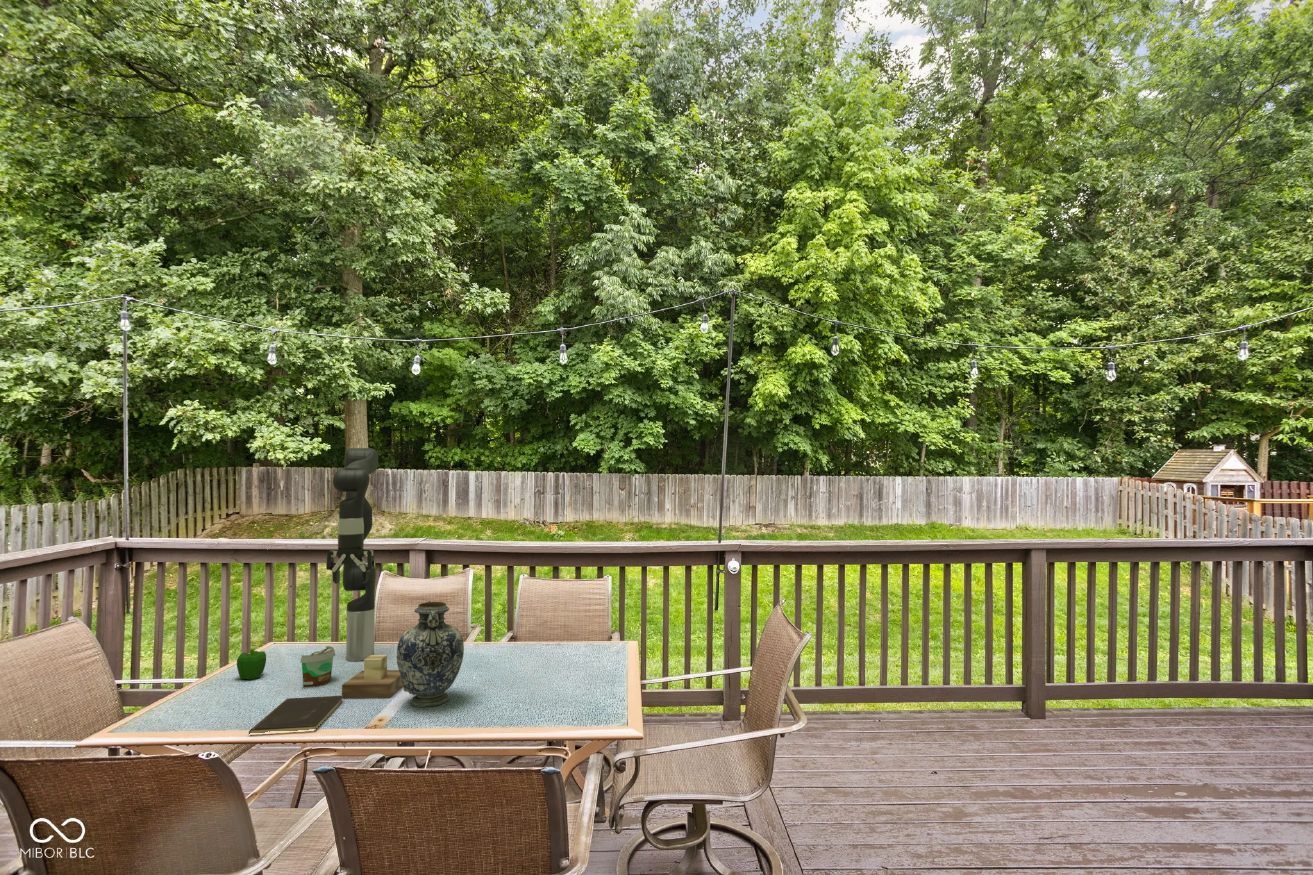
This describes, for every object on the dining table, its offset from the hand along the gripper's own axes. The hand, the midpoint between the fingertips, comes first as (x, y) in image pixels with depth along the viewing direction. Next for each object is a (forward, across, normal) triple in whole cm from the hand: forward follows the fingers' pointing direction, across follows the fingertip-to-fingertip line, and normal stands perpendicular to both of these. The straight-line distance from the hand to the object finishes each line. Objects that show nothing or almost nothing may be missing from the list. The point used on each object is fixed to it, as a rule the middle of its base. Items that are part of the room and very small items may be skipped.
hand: (350, 583), depth 214 cm
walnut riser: (+31, -12, +8) cm, 34 cm away
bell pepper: (+32, +34, -6) cm, 47 cm away
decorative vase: (+31, -32, +19) cm, 48 cm away
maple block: (+27, -12, +8) cm, 31 cm away
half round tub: (+32, +8, 0) cm, 33 cm away
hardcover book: (+32, 0, +30) cm, 44 cm away
